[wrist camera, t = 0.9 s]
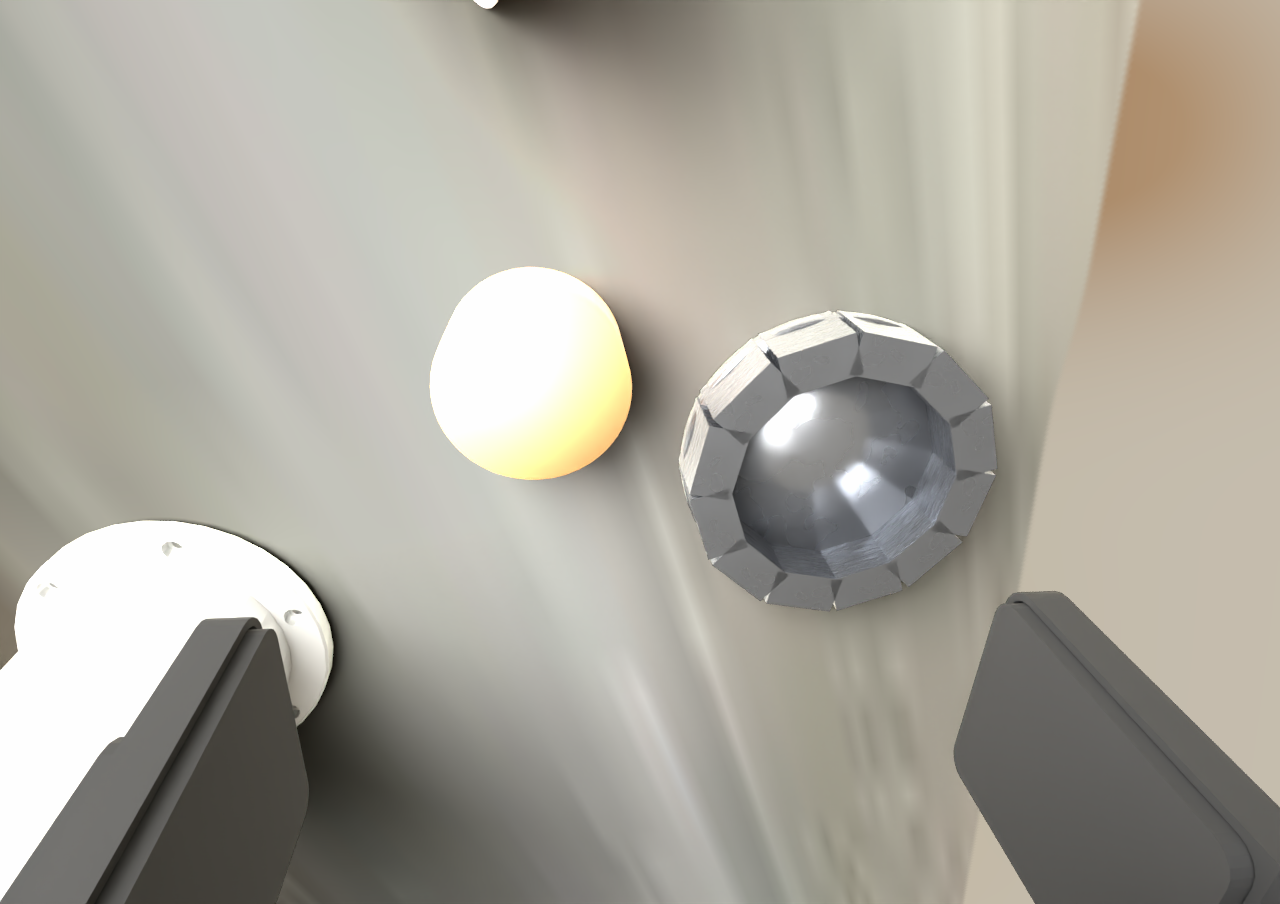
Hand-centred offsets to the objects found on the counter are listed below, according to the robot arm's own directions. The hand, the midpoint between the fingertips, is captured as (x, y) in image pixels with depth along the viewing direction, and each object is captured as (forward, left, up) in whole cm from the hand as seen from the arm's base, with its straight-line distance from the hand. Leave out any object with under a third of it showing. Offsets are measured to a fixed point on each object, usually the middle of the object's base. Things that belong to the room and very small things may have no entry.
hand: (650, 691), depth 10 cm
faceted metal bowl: (-5, -12, -21) cm, 25 cm away
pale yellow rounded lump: (-3, +1, -21) cm, 22 cm away
